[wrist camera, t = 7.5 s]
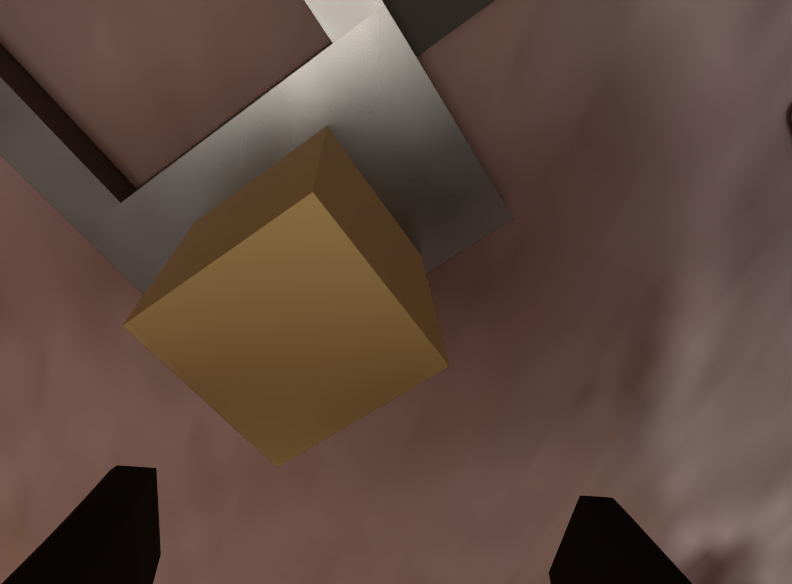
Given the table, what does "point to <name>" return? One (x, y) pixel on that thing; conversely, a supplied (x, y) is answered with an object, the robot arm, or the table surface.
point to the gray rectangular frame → (269, 150)
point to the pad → (430, 18)
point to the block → (295, 304)
